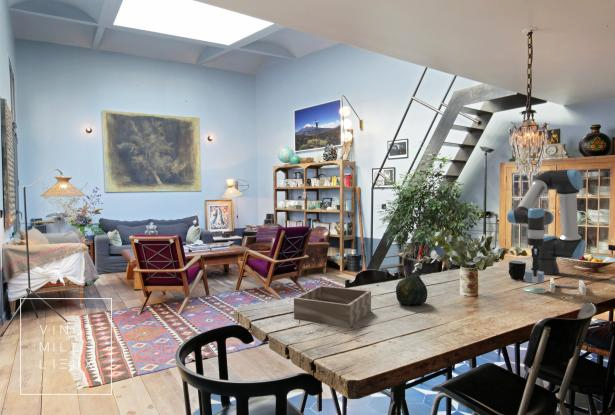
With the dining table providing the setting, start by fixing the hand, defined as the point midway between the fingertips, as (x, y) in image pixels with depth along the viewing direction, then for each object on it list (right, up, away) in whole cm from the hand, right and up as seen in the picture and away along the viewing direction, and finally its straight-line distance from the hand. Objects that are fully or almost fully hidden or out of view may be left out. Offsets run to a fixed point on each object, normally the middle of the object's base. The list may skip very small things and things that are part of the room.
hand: (534, 280), depth 224 cm
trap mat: (+20, -5, +6) cm, 21 cm away
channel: (+17, -5, 0) cm, 18 cm away
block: (0, 0, 0) cm, 0 cm away
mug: (+3, -4, +27) cm, 28 cm away
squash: (-70, -8, -21) cm, 74 cm away
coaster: (0, -5, 0) cm, 5 cm away
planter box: (-108, -9, -37) cm, 115 cm away
